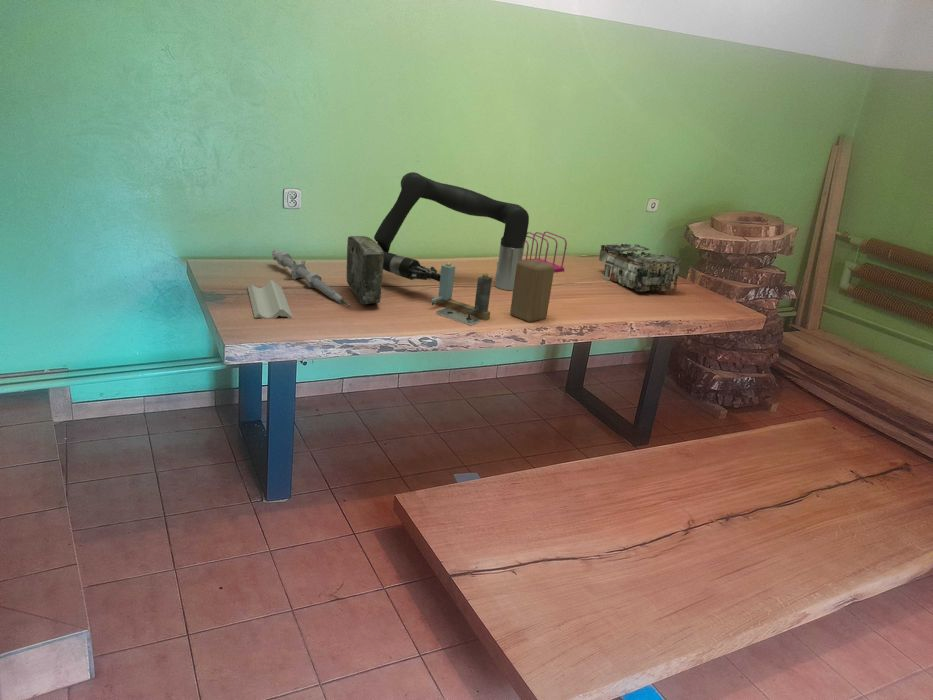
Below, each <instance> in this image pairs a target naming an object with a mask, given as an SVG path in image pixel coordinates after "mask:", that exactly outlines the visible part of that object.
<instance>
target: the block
mask: <svg viewBox="0 0 933 700" xmlns="http://www.w3.org/2000/svg"><path fill="white" fill-rule="evenodd" d="M532 259H533V260H526V259H525V260H526V261H519V262H518V263H517V267H516V274H515V281H514V288H513V290H512V297H511V304H510V311H509V312H510V315H511V316H513V317H516V318H518V319H521V320H523V321H525V322H528V323H533V322H537V321H540V320H545V319H546V318H547V317H548V310H549V306H550V305H549V304H550V298H551V293H552V292H551V291H552V286H553V280H554V274H555V272H554V266H553V265H551V264H548V263H545V262H542V261H539V260H536V259H537V258H536V259H535V258H532Z"/></svg>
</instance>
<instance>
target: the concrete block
mask: <svg viewBox="0 0 933 700" xmlns="http://www.w3.org/2000/svg"><path fill="white" fill-rule="evenodd" d="M383 263H384V252H383V250H382V248H381V247H380V246H379V245H378V244H377V242H376V241H375V239H374V240H373V239H372V238H371V237H368V236H364V235H352V236H351V235H350V236H348V237H347V246H346V282H347V284H348V287H350V289H351V291H352V292H353V293H354V295H355V297H356V298H357V300H358V302H359V303H360V304H362V305H369V304H378V303H380V302H381V298H382V297H381V295H382V287H383V286H382V282H383V271H384V270H383Z"/></svg>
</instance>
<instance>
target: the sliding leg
mask: <svg viewBox="0 0 933 700" xmlns="http://www.w3.org/2000/svg"><path fill="white" fill-rule="evenodd" d="M440 267H441V269H440V274H441V276H440V281H439V287H438V288H439V290H438V296H436V297H437V298H436V297H434V298H431V299H430V302H431V307H432V306H434V305H435V302H436V301H438V300H442V299H444V300H448V299H452V298H453V290H454V281H455V280H454V279H455V271H456V266H455V265H453V264H452V262H451V261H446V262H445V264H442V265H441V266H440Z"/></svg>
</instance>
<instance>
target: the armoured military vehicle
mask: <svg viewBox="0 0 933 700" xmlns="http://www.w3.org/2000/svg"><path fill="white" fill-rule="evenodd" d="M618 244H619V243H617V244H606V245H605V244H601V245H600V248H601V249H600V250H599V258H598V260H599V261H600V262H603V263H605V264H604V271H603V272H604V275H603V276H602V279H604V280H606V279H608V281H612V282H615V283H616V284H620V285H621V286H622V287H624V286H625V287H627V288H630V289H632V290H635V291H636V292H648V291H649V292H652V291H653V292H654V291H656V292H657V291H660V292H661V291H662V292H667V291H676V290H677V284H678V283H677V282H678V278H679V273H680V266H681V261H682V259H681V258H680V257H676V256H675V255H674V256H673V255H670V254H664V253H657V254H656V253H650V252H647V253H646V252H645V251H650V249H649V248H647V247H645V246H642V245H639V244H636V243H635V245H633V246H631V244H630V243H629V244H628V243H625V244H624V243H621V245H618ZM638 251H639V252H640V251H641V252H640V253H637V252H638ZM625 252H626V253H625ZM672 284H673V289H672Z"/></svg>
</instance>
